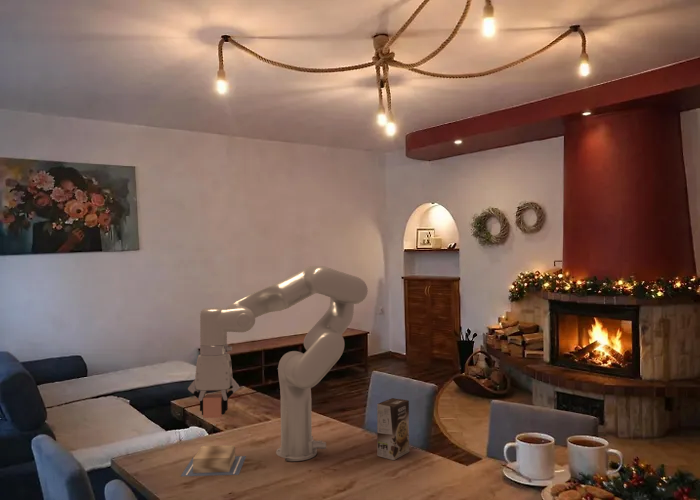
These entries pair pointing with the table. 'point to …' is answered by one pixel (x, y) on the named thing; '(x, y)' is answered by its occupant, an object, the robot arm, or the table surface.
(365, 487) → the table surface
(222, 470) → the maple base block
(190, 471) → the board
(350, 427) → the table surface
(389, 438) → the snack box
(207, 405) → the terracotta block
